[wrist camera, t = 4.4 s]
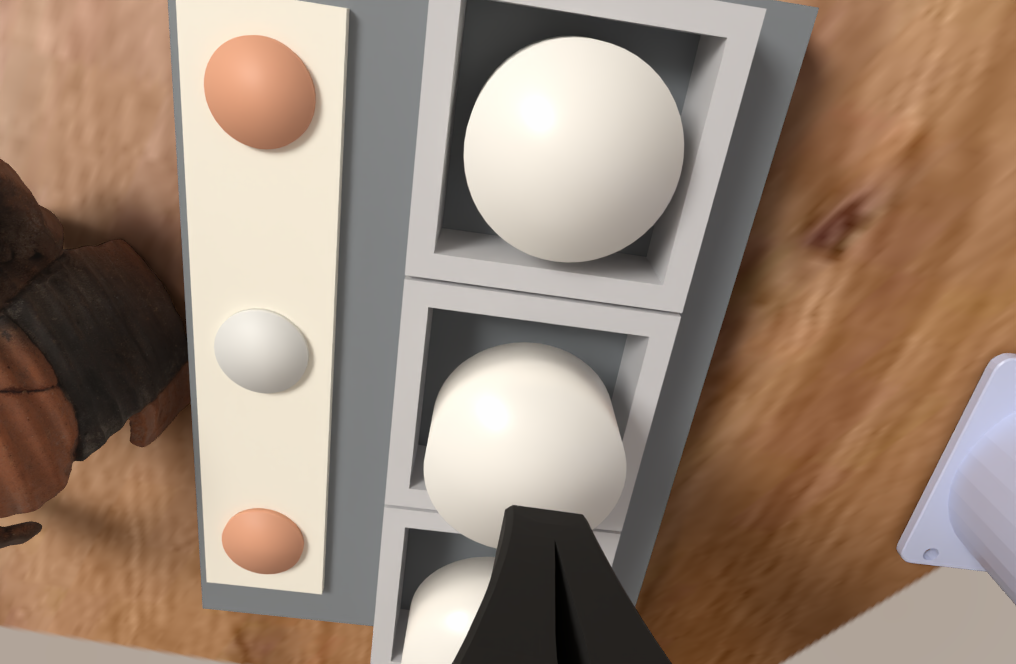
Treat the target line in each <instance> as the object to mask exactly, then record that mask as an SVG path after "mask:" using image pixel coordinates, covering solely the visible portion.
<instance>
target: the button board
mask: <svg viewBox="0 0 1016 664" xmlns="http://www.w3.org/2000/svg"><path fill="white" fill-rule="evenodd" d="M818 9H819V8H817V7H811V6H805V5H799V4H793V3H787V2H781V1H775V0H168V12H169V29H170V47H171V64H172V81H173V99H174V116H175V134H176V151H177V168H178V186H179V203H180V221H181V238H182V255H183V273H184V290H185V308H186V325H187V342H188V360H189V377H190V395H191V412H192V429H193V447H194V464H195V482H196V499H197V516H198V534H199V551H200V569H201V586H202V603H203V608H205V609H215V610H224V611H234V612H243V613H253V614H263V615H272V616H282V617H291V618H301V619H311V620H320V621H330V622H339V623H349V624H359V625H368V626H374V629H373V641H372V652H371V663H370V664H401V661H402V655H403V649H404V642H405V636H406V630H407V624H408V618H409V612H410V606H411V602H412V599H413V596H414V594H415V592H416V590H417V589H418V587H419V586H420V584H421V583H422V582H423V581H424V580H425V579H426V578H427V577H428V576H429V575H431V574H432V573H433V572H435V571H436V570H438V569H440V568H442V567H444V566H446V565H448V564H450V563H453V562H456V561H459V560H463V559H468V558H475V557H495V555H496V551H497V549H496V548H493V547H489V546H486V545H483V544H480V543H478V542H475V541H473V540H471V539H470V538H468V537H466V536H464V535H462V534H461V533H460V532H458V531H457V530H455V529H454V528H453V527H452V526H451V525H449V524H448V523H447V522H446V521H445V520H444V519H443V517H442V516H441V515H440V514H439V513H438V511H437V510H436V508H435V507H434V505H433V504H432V501H431V499H430V497H429V495H428V492H427V489H426V485H425V480H424V459H425V453H426V448H427V442H428V437H429V432H430V426H431V421H432V416H433V410H434V405H435V401H436V398H437V396H438V393H439V391H440V389H441V387H442V385H443V383H444V382H445V381H446V379H447V378H448V377H449V375H450V374H451V373H452V372H453V371H454V370H455V369H456V368H457V367H458V366H459V365H460V364H462V363H463V362H464V361H466V360H467V359H468V358H470V357H472V356H474V355H475V354H477V353H479V352H481V351H484V350H486V349H488V348H492V347H495V346H499V345H503V344H509V343H521V342H528V343H539V344H545V345H550V346H553V347H556V348H559V349H562V350H564V351H566V352H568V353H571V354H573V355H574V356H576V357H577V358H579V359H581V360H582V361H583V362H585V363H586V364H587V365H588V366H589V367H591V368H592V370H593V371H594V372H595V373H596V374H597V375H598V376H599V378H600V379H601V381H602V382H603V384H604V385H605V387H606V389H607V391H608V393H609V396H610V400H611V403H612V406H613V410H614V414H615V418H616V421H617V425H618V429H619V432H620V436H621V440H622V444H623V447H624V451H625V456H626V479H625V484H624V488H623V490H622V493H621V496H620V498H619V500H618V502H617V504H616V505H615V507H614V508H613V510H612V511H611V512H610V514H609V515H608V516H607V517H606V518H605V519H604V520H603V521H602V522H601V523H600V524H599V525H598V526H597V527H596V528H594V529H593V530H592V531H593V533H594V535H595V537H596V539H597V541H598V543H599V545H600V546H601V548H602V550H603V552H604V554H605V556H606V558H607V560H608V561H609V563H610V565H611V567H612V569H613V571H614V572H615V574H616V576H617V578H618V580H619V581H620V583H621V585H622V586H623V588H624V590H625V592H626V593H627V595H628V597H629V598H630V600H631V601H632V603H633V605H634V606H636V602H637V599H638V596H639V593H640V589H641V586H642V583H643V580H644V576H645V573H646V570H647V567H648V563H649V560H650V557H651V554H652V550H653V547H654V544H655V540H656V537H657V534H658V531H659V527H660V524H661V521H662V518H663V514H664V511H665V508H666V505H667V501H668V498H669V495H670V492H671V488H672V485H673V482H674V479H675V475H676V472H677V469H678V466H679V462H680V459H681V456H682V452H683V449H684V446H685V443H686V439H687V436H688V433H689V430H690V426H691V423H692V420H693V417H694V413H695V410H696V407H697V404H698V400H699V397H700V394H701V391H702V387H703V384H704V381H705V378H706V374H707V371H708V368H709V365H710V361H711V358H712V355H713V351H714V348H715V345H716V342H717V338H718V335H719V332H720V329H721V325H722V322H723V319H724V316H725V312H726V309H727V306H728V303H729V299H730V296H731V293H732V290H733V286H734V283H735V280H736V277H737V273H738V270H739V267H740V263H741V260H742V257H743V254H744V250H745V247H746V244H747V241H748V237H749V234H750V231H751V228H752V224H753V221H754V218H755V215H756V211H757V208H758V205H759V202H760V198H761V195H762V192H763V189H764V185H765V182H766V179H767V176H768V172H769V169H770V166H771V162H772V159H773V156H774V153H775V149H776V146H777V143H778V140H779V136H780V133H781V130H782V127H783V123H784V120H785V117H786V114H787V110H788V107H789V104H790V101H791V97H792V94H793V91H794V88H795V84H796V81H797V78H798V75H799V71H800V68H801V65H802V61H803V58H804V55H805V52H806V48H807V45H808V42H809V39H810V35H811V32H812V29H813V26H814V22H815V19H816V16H817V13H818ZM570 35H572V36H583V37H588V38H592V39H597V40H600V41H604V42H608V43H611V44H614V45H616V46H619V47H621V48H624V49H626V50H628V51H629V52H631V53H633V54H634V55H636V56H638V57H639V58H640V59H642V60H643V61H644V62H645V63H647V64H648V65H649V66H650V67H651V68H652V69H653V70H654V71H655V72H656V73H657V74H658V75H659V76H660V78H661V79H662V80H663V82H664V83H665V85H666V86H667V87H668V89H669V91H670V93H671V95H672V97H673V98H674V100H675V103H676V105H677V108H678V111H679V114H680V117H681V122H682V127H683V135H684V158H683V165H682V170H681V175H680V178H679V181H678V184H677V187H676V190H675V192H674V194H673V196H672V198H671V201H670V202H669V204H668V206H667V207H666V209H665V210H664V212H663V214H662V215H661V216H660V217H659V219H658V220H657V221H656V222H655V224H654V225H653V226H652V227H651V228H650V229H649V230H648V231H647V232H646V233H645V234H643V235H642V236H641V237H640V238H638V239H637V240H636V241H634V242H633V243H632V244H630V245H628V246H626V247H625V248H623V249H621V250H619V251H617V252H615V253H613V254H610V255H608V256H605V257H602V258H598V259H595V260H589V261H584V262H569V263H567V262H554V261H550V260H545V259H540V258H537V257H535V256H532V255H529V254H527V253H525V252H523V251H521V250H519V249H517V248H515V247H514V246H512V245H511V244H509V243H507V242H506V241H505V240H504V239H502V238H501V237H500V236H499V235H498V234H497V233H496V232H495V231H494V230H493V229H492V228H491V227H490V226H489V225H488V224H487V222H486V221H485V220H484V218H483V217H482V215H481V214H480V212H479V211H478V209H477V207H476V205H475V203H474V201H473V199H472V196H471V193H470V190H469V187H468V184H467V180H466V175H465V168H464V141H465V136H466V130H467V126H468V123H469V119H470V116H471V113H472V110H473V108H474V105H475V102H476V100H477V98H478V95H479V93H480V91H481V89H482V87H483V86H484V84H485V83H486V81H487V80H488V78H489V77H490V75H491V74H492V73H493V72H494V71H495V69H496V68H497V67H498V66H499V65H500V64H501V63H502V62H503V61H505V60H506V59H507V58H508V57H509V56H511V55H512V54H514V53H515V52H516V51H518V50H519V49H521V48H523V47H525V46H527V45H529V44H531V43H534V42H537V41H539V40H542V39H546V38H551V37H556V36H570Z"/></svg>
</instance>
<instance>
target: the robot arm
mask: <svg viewBox="0 0 1016 664" xmlns="http://www.w3.org/2000/svg"><path fill="white" fill-rule="evenodd" d="M928 549H930V550H928ZM926 550H928V551H926ZM925 551H926V552H925ZM897 552H898V553H899V555H900V556H901V557H902V559H903V560H905V561H906V562H909V563H916V564H925V565H934V566H942V567H951V568H960V569H968V570H977V571H986V572H988V574H989V575H990V576H991V577H992V578H993V579H994V580H995V582H996V583H997V584H998V585H999V586H1000V588H1001V589H1002V590H1003V591H1004V592H1005V593H1006V594H1007V596H1008V597H1009V598H1010V599H1011V600H1012V601H1013V603H1014V604H1015V605H1016V354H1012V353H1003V354H1001V355H998V356H996V357H995V358H993V359H992V360H991V361H990V362H989V364H988V365H987V367H986V369H985V371H984V373H983V375H982V377H981V379H980V381H979V383H978V385H977V387H976V389H975V390H974V392H973V394H972V396H971V398H970V400H969V402H968V404H967V406H966V408H965V410H964V412H963V414H962V416H961V418H960V420H959V422H958V424H957V426H956V428H955V430H954V432H953V434H952V436H951V438H950V440H949V442H948V444H947V446H946V448H945V450H944V452H943V454H942V456H941V458H940V460H939V462H938V464H937V466H936V468H935V470H934V472H933V474H932V476H931V478H930V480H929V482H928V484H927V486H926V488H925V490H924V492H923V494H922V496H921V498H920V500H919V502H918V504H917V506H916V508H915V510H914V512H913V514H912V516H911V518H910V520H909V522H908V524H907V526H906V528H905V530H904V532H903V534H902V536H901V538H900V540H899V542H898V544H897ZM452 664H672V663H671V662H670V660H669V659H668V657H667V656H666V654H665V653H664V651H663V650H662V649H661V647H660V646H659V644H658V643H657V641H656V640H655V638H654V637H653V635H652V634H651V632H650V631H649V629H648V627H647V626H646V624H645V623H644V621H643V620H642V618H641V616H640V615H639V613H638V611H637V610H636V608H635V606H634V605H633V603H632V601H631V600H630V598H629V597H628V595H627V593H626V592H625V590H624V588H623V586H622V585H621V583H620V581H619V580H618V578H617V576H616V574H615V572H614V571H613V569H612V567H611V565H610V563H609V561H608V560H607V558H606V556H605V554H604V552H603V550H602V548H601V546H600V545H599V543H598V541H597V539H596V537H595V535H594V533H593V531H592V529H591V527H590V525H589V523H588V521H587V519H586V518H585V517H584V515H583V514H577V513H570V512H562V511H555V510H547V509H540V508H533V507H525V506H518V505H512V506H510V507H508V508H507V509H505V512H504V517H503V522H502V527H501V531H500V536H499V541H498V546H497V551H496V555H495V560H494V565H493V570H492V574H491V579H490V582H489V584H488V587H487V590H486V593H485V595H484V598H483V600H482V602H481V604H480V607H479V609H478V611H477V613H476V615H475V618H474V620H473V622H472V624H471V626H470V629H469V631H468V633H467V635H466V637H465V639H464V641H463V643H462V645H461V647H460V649H459V651H458V653H457V655H456V657H455V659H454V661H453V662H452Z"/></svg>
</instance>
